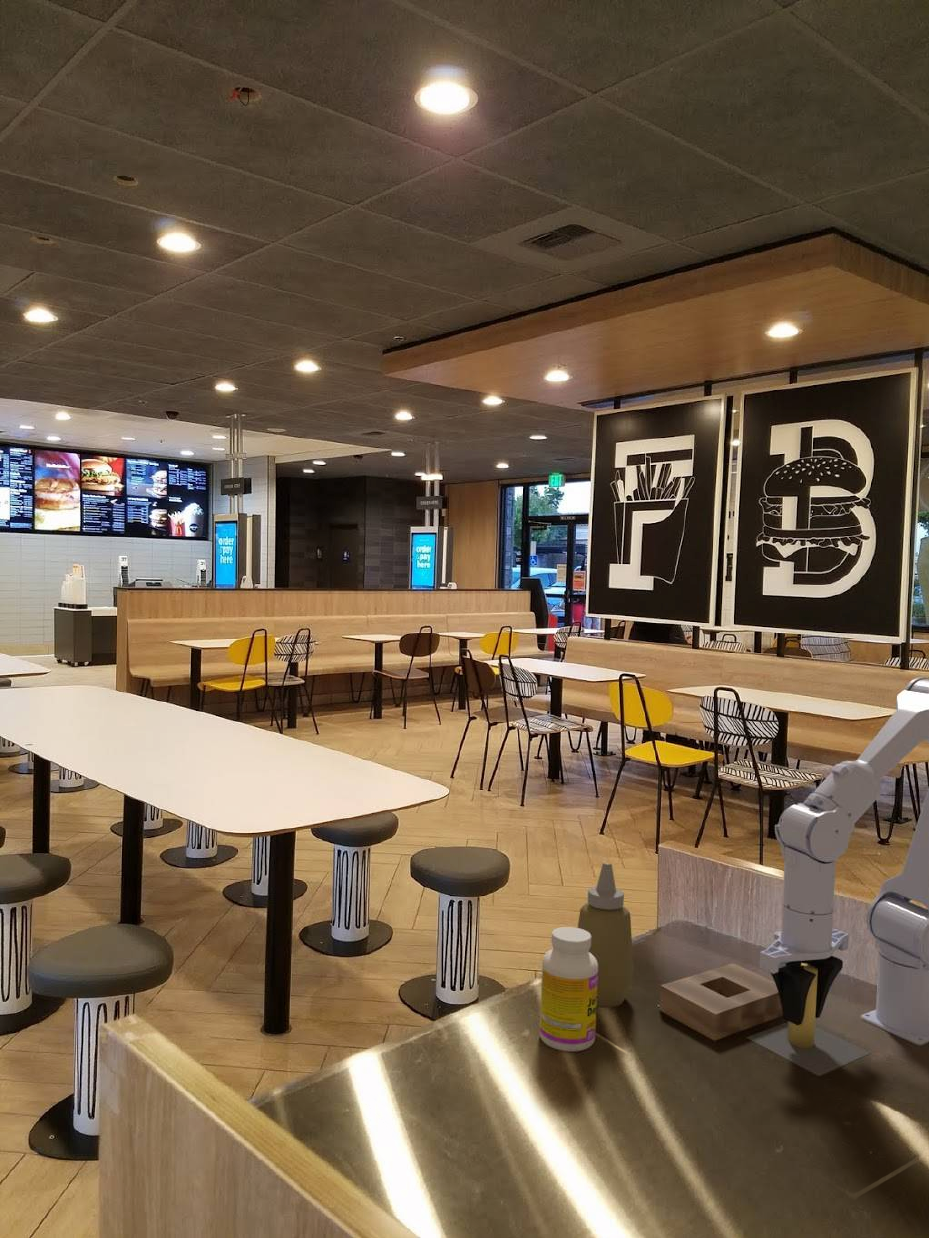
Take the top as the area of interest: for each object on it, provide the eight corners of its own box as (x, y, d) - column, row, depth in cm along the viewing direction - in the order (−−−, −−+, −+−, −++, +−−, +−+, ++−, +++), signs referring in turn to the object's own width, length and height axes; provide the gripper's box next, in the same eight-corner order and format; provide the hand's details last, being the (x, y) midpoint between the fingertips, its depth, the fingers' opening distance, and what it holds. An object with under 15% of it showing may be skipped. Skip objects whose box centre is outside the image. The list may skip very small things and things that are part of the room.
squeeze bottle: (641, 996, 122) (647, 862, 121) (617, 1019, 115) (624, 878, 114) (586, 980, 126) (591, 851, 125) (560, 1001, 119) (565, 865, 119)
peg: (797, 1033, 113) (801, 960, 112) (819, 1043, 110) (823, 970, 110) (782, 1039, 111) (785, 966, 111) (803, 1050, 108) (807, 975, 108)
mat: (797, 1020, 117) (798, 1017, 117) (870, 1055, 108) (870, 1052, 108) (746, 1039, 111) (746, 1037, 111) (818, 1078, 103) (818, 1075, 103)
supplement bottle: (593, 1057, 106) (597, 947, 105) (536, 1049, 107) (540, 941, 106) (596, 1030, 112) (601, 926, 112) (542, 1023, 113) (546, 920, 113)
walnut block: (731, 988, 125) (733, 963, 125) (787, 1015, 118) (789, 988, 118) (659, 1012, 118) (660, 985, 117) (714, 1042, 110) (715, 1014, 110)
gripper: (815, 887, 117) (810, 991, 118) (740, 906, 109) (735, 1018, 110) (866, 904, 111) (860, 1013, 112) (791, 925, 103) (785, 1043, 104)
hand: (801, 1017), depth 110 cm, fingers closed on peg, 3 cm apart
